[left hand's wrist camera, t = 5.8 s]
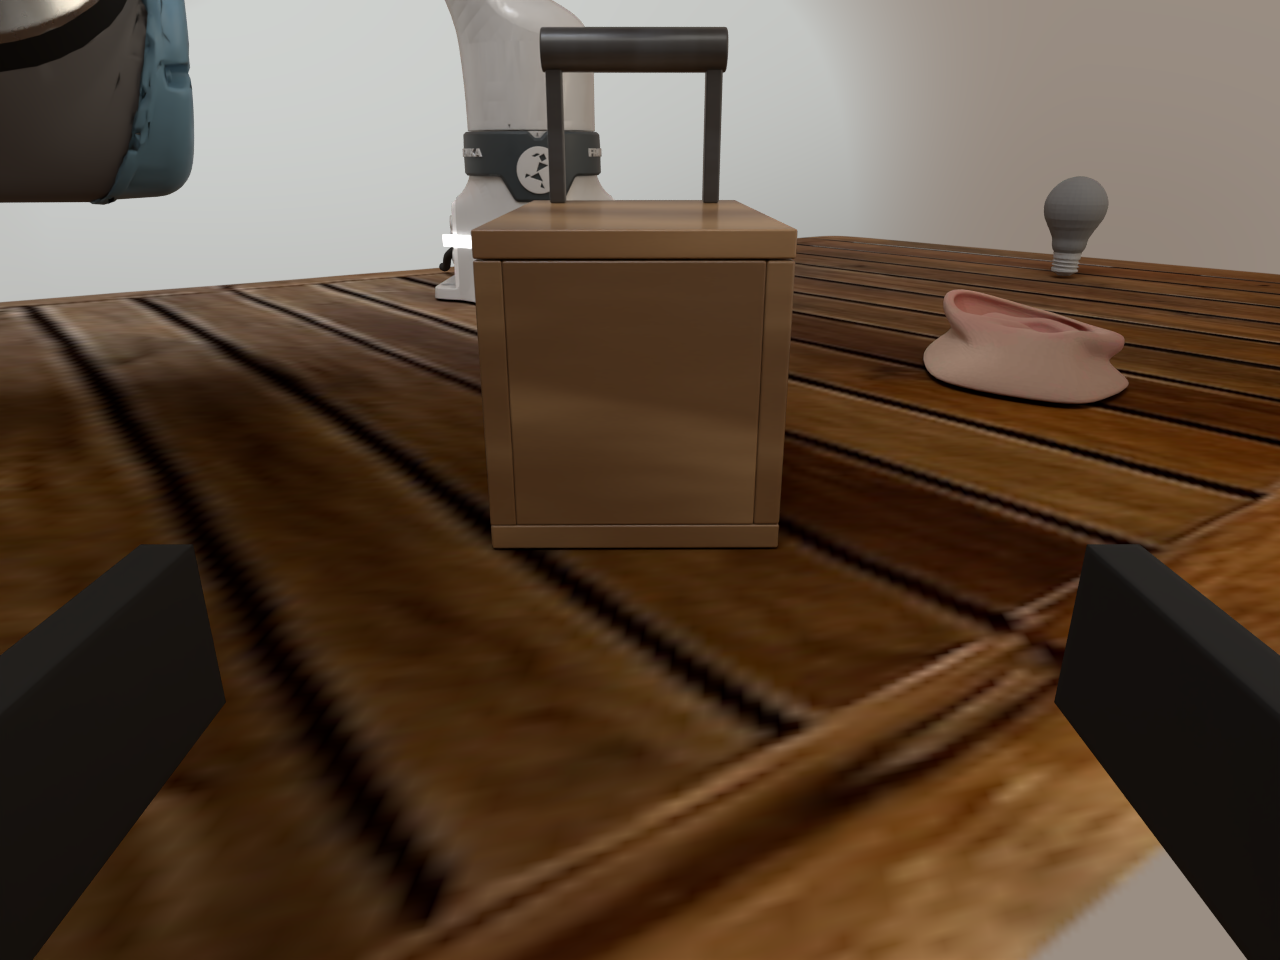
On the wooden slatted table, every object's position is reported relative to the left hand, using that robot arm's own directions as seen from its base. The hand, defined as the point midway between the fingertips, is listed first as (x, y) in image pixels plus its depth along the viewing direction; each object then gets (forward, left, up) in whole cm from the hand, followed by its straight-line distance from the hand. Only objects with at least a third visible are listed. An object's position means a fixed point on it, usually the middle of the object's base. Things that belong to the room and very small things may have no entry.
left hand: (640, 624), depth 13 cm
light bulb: (-34, +88, -6) cm, 94 cm away
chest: (-18, +15, -6) cm, 24 cm away
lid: (-18, +15, +4) cm, 24 cm away
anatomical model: (-16, +43, -6) cm, 46 cm away
